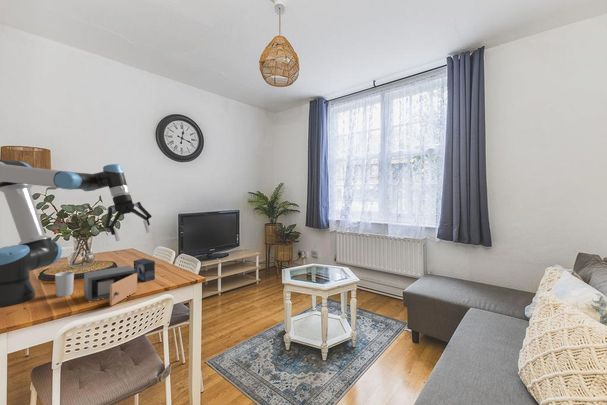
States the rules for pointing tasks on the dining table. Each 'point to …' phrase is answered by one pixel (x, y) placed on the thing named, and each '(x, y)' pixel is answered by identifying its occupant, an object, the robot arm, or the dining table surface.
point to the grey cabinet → (103, 281)
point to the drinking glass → (64, 283)
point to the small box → (144, 269)
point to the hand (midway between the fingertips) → (133, 236)
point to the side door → (123, 288)
